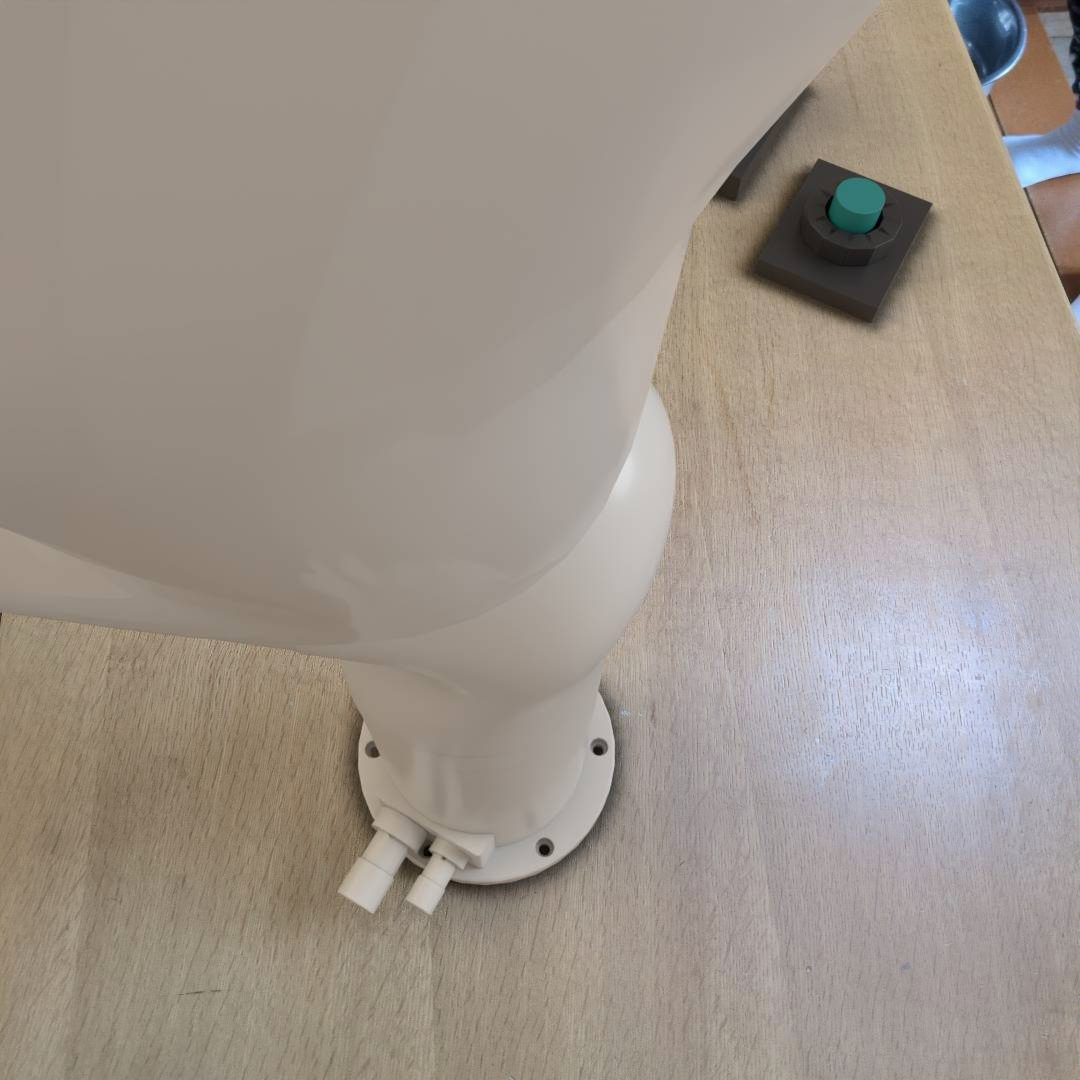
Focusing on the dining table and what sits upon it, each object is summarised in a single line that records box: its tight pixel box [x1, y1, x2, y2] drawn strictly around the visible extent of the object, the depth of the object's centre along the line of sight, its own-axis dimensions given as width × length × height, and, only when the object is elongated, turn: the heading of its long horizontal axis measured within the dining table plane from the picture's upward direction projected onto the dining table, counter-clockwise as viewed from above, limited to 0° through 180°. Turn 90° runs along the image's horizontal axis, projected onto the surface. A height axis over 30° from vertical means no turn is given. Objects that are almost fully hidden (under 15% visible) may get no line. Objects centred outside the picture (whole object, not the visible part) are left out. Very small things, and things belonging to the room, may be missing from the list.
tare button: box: [829, 178, 885, 234], centre depth 64 cm, size 3×3×2 cm
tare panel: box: [753, 157, 933, 324], centre depth 65 cm, size 10×8×3 cm
